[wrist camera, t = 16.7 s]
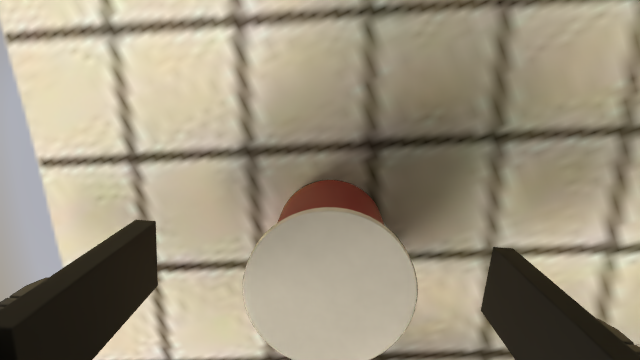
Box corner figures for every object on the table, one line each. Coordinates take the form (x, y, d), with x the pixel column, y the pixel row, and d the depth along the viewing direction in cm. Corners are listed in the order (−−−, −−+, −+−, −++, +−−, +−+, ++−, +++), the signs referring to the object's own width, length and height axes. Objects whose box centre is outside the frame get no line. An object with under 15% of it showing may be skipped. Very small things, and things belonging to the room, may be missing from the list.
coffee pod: (273, 166, 17) (244, 203, 11) (397, 176, 17) (429, 218, 11) (268, 278, 18) (240, 360, 13) (383, 288, 18) (405, 375, 13)
